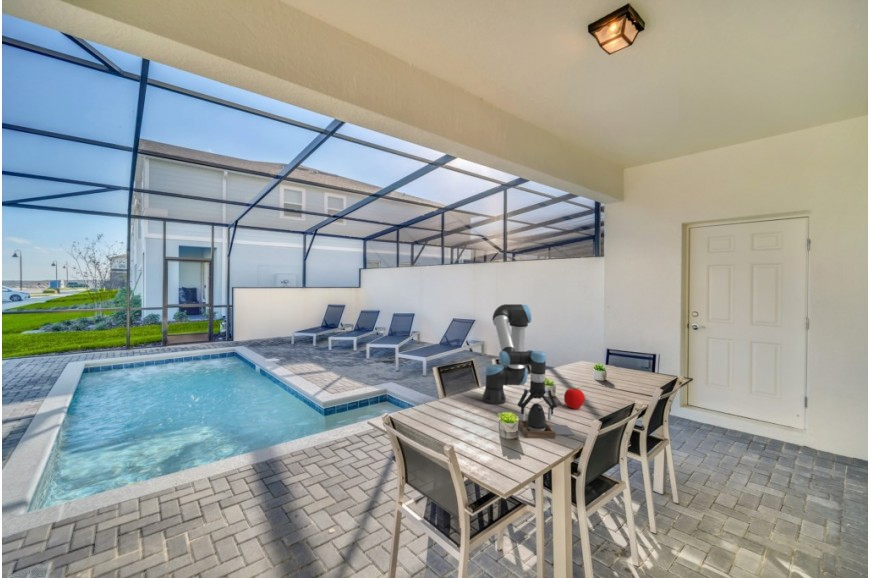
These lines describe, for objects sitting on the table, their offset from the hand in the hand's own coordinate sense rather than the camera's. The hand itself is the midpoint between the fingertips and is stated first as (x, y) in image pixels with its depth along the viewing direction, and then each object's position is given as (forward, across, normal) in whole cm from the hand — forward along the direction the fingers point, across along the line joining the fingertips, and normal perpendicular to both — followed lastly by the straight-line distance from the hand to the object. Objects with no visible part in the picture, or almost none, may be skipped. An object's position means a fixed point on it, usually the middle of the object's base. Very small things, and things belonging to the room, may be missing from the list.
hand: (536, 420), depth 201 cm
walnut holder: (+6, 0, 0) cm, 6 cm away
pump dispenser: (+7, 0, 0) cm, 7 cm away
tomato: (+6, +34, +37) cm, 51 cm away
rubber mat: (+6, +14, +2) cm, 15 cm away
